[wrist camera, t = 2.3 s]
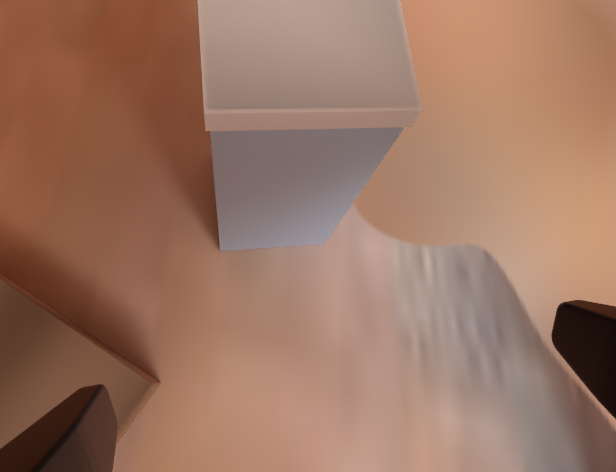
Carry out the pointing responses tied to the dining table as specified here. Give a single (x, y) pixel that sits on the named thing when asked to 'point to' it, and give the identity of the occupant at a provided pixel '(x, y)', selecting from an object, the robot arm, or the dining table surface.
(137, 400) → the brown square tray
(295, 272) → the dining table surface
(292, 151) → the tin
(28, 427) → the robot arm
